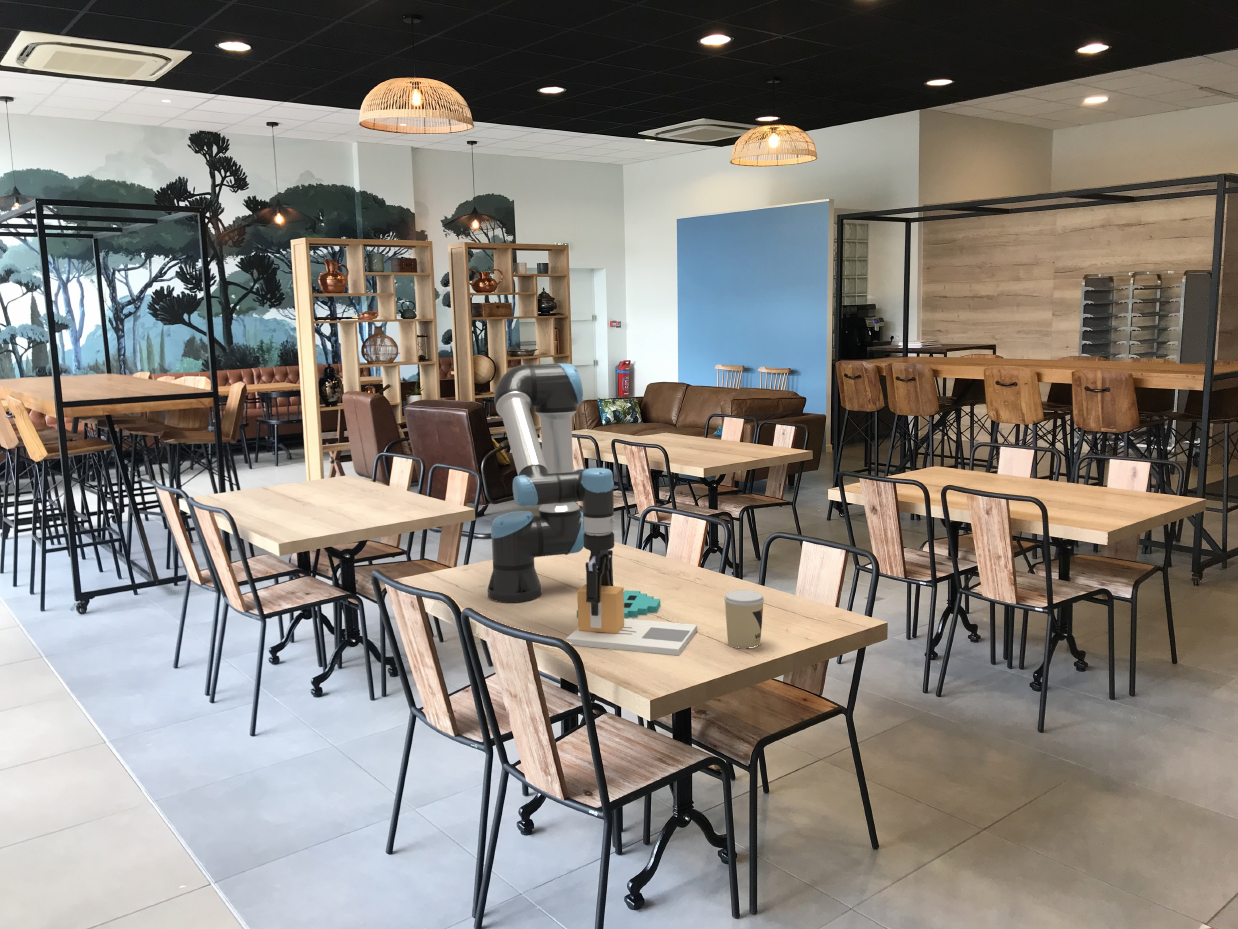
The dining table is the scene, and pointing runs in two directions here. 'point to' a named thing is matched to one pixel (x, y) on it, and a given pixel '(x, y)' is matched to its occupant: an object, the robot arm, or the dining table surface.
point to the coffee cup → (744, 618)
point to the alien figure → (638, 604)
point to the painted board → (639, 637)
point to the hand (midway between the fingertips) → (600, 622)
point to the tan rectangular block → (603, 609)
